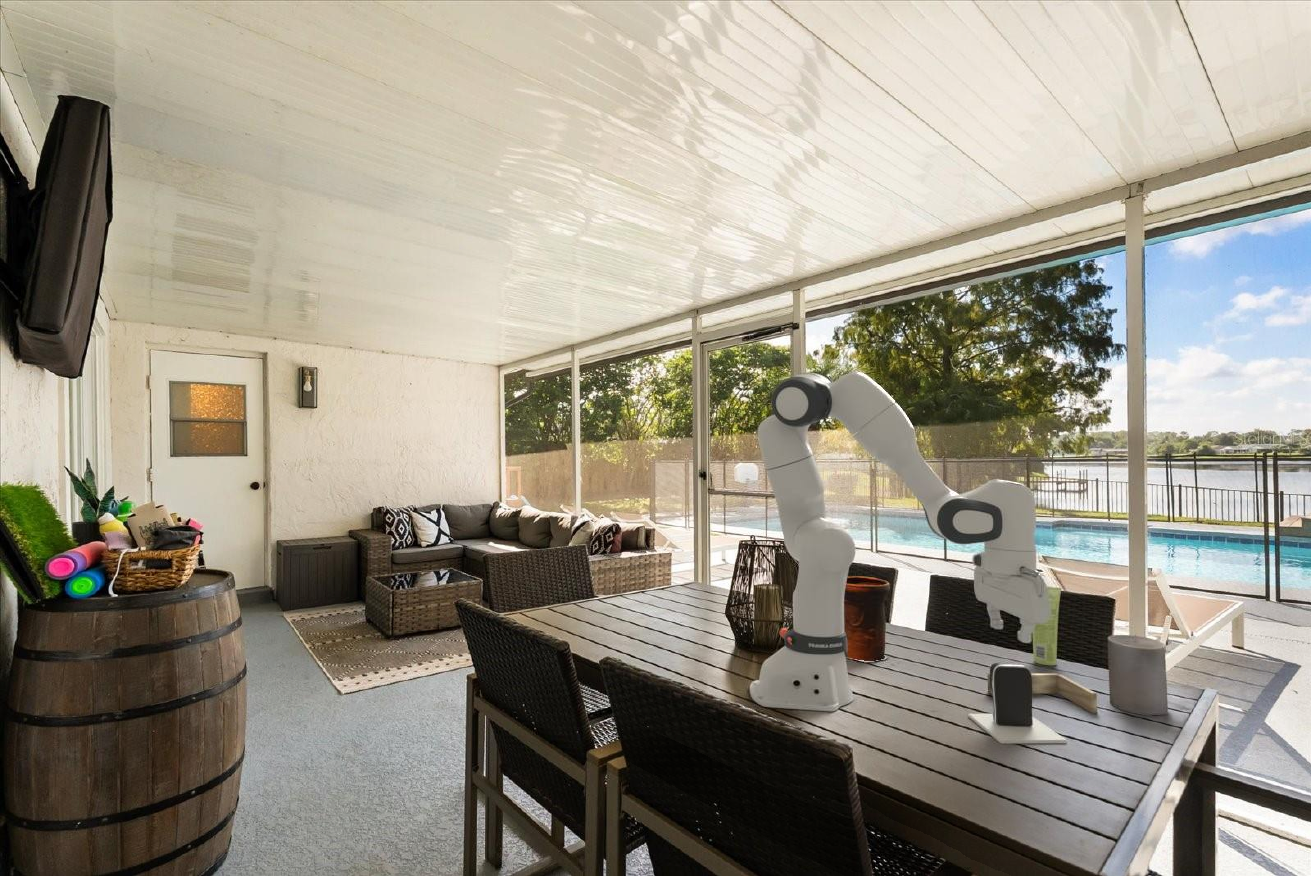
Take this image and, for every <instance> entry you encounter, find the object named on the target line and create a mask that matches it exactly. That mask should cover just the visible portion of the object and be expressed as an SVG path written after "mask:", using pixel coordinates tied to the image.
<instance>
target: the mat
mask: <svg viewBox="0 0 1311 876" xmlns="http://www.w3.org/2000/svg"><path fill="white" fill-rule="evenodd" d="M967 716H968V718H969V719H970V720H972V721H973V722H974V723H975V724H977V725H978V726H979V727H981V729H983V730H984V731H985V732H987V734H989V736H991V737H993V739H995V740H996V741H997V742H999V743H1000V744H1067V741H1068V740H1067V739H1066V738H1065V737H1064V736H1062V735H1060V734H1059V733H1057V732H1056V731H1054V730H1053V729H1052V728H1050V727H1049V726H1047V725H1045V723H1043V722H1041V721H1039V719H1036V718H1035V717H1034V716H1032V720H1033V725H1032V726H1008V725H998V724H996V723H995V721H994V720H993V713H968V715H967Z"/></svg>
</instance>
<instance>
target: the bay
mask: <svg viewBox="0 0 1311 876" xmlns="http://www.w3.org/2000/svg"><path fill="white" fill-rule="evenodd" d="M1031 676H1032V694H1059V695H1061V697H1064V698H1066V699H1067V700H1069V701H1071V702H1073V703H1074V704H1076V705H1077V706H1080V707H1081V708H1083V709H1085V710H1087V711H1088V712H1090V713H1092V714H1098V699H1097V697H1098V695H1097V692H1095V691H1093V690H1091V689H1090V688H1087V687H1086V686H1083V684H1080V683H1078V682H1076V681H1074V680H1073V679H1072V678H1071V679H1070V678H1069V677H1067V676H1065V675H1063V674H1061V673H1058V672H1057V673H1051V672H1050V673H1031ZM987 693H988V694H990V695H992V696H993V694H992V689H991V688H990V673H987Z"/></svg>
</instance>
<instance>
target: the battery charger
mask: <svg viewBox="0 0 1311 876" xmlns="http://www.w3.org/2000/svg"><path fill="white" fill-rule="evenodd" d="M989 674H990V688H991V689H992V694H993V695H992V694H991V695H992V703H993V704H992V705H993V711H992V712H993V713H992V714H993V720H994V721H995V723H996V724H998V725H1008V726H1032V725H1033V720H1032V717H1033V693H1032V676H1031V674H1032V672H1031V671H1030V669H1029V668H1028V667H1027V666H1025V665H1023V664H1021V663H1017V662H994V663H993V664H991V665H990V667H989Z"/></svg>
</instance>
